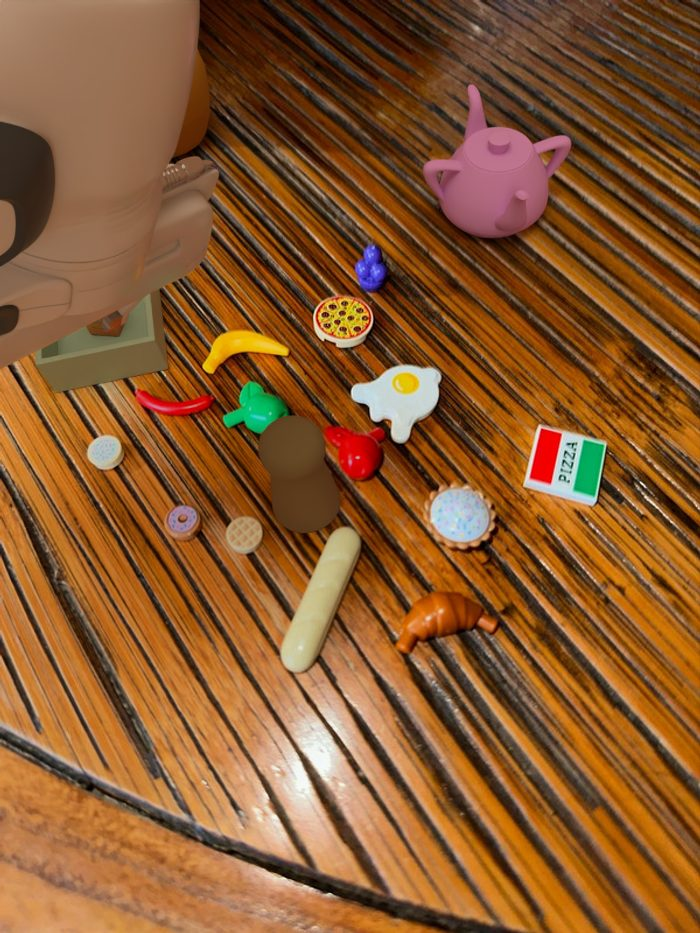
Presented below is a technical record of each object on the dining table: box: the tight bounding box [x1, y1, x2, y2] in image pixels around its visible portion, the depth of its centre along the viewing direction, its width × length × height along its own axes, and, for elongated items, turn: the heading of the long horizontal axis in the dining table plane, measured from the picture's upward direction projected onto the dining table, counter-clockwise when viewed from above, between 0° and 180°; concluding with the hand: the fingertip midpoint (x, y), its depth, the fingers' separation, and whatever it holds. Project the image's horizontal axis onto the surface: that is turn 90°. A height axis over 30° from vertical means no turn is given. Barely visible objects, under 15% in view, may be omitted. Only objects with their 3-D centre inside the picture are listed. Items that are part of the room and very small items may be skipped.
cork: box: [257, 414, 341, 534], centre depth 62 cm, size 6×6×11 cm
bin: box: [34, 288, 169, 394], centre depth 75 cm, size 13×11×5 cm
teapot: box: [422, 84, 572, 239], centre depth 78 cm, size 12×14×9 cm
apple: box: [172, 48, 211, 159], centre depth 85 cm, size 11×11×13 cm
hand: (46, 351), depth 48 cm, fingers open, 8 cm apart
